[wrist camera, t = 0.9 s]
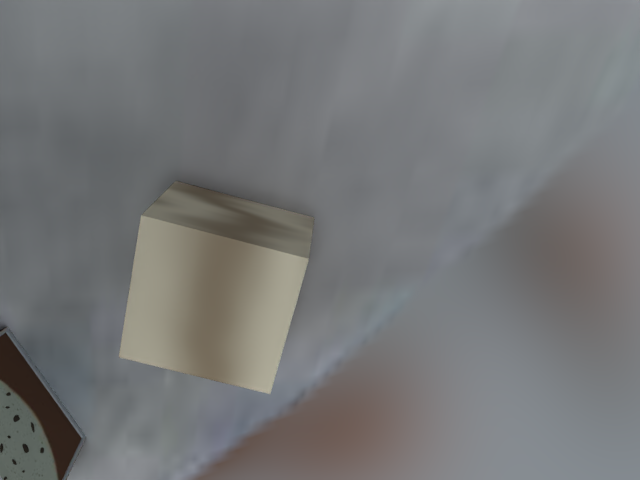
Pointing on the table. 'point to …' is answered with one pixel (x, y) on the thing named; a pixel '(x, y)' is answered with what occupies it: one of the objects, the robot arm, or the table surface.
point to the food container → (32, 420)
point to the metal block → (215, 286)
